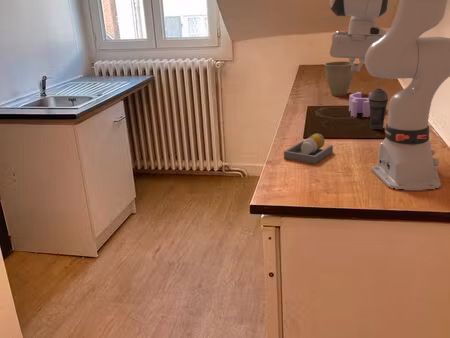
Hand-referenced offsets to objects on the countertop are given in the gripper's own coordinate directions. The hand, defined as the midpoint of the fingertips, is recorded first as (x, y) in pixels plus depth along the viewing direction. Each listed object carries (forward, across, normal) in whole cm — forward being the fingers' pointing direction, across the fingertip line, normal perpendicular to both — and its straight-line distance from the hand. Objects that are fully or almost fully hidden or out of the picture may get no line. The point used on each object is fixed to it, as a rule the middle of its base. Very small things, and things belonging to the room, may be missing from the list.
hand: (355, 71), depth 166 cm
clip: (+14, -9, +42) cm, 45 cm away
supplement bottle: (+26, -6, -12) cm, 29 cm away
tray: (+30, -6, -18) cm, 36 cm away
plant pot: (+6, -32, +70) cm, 77 cm away
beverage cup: (+20, +5, +20) cm, 29 cm away
